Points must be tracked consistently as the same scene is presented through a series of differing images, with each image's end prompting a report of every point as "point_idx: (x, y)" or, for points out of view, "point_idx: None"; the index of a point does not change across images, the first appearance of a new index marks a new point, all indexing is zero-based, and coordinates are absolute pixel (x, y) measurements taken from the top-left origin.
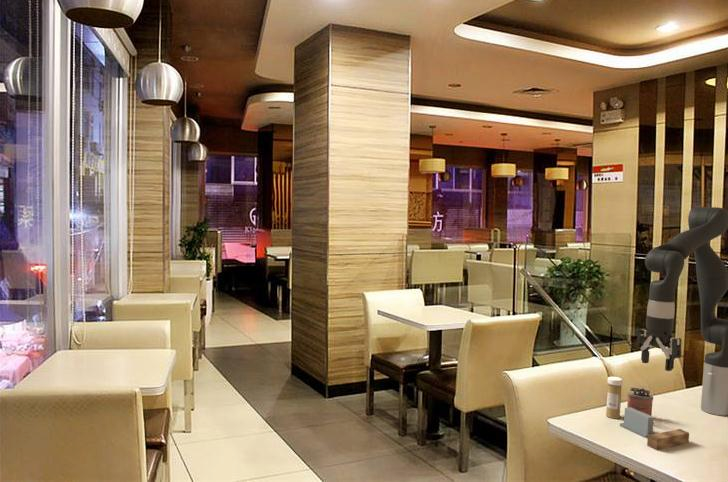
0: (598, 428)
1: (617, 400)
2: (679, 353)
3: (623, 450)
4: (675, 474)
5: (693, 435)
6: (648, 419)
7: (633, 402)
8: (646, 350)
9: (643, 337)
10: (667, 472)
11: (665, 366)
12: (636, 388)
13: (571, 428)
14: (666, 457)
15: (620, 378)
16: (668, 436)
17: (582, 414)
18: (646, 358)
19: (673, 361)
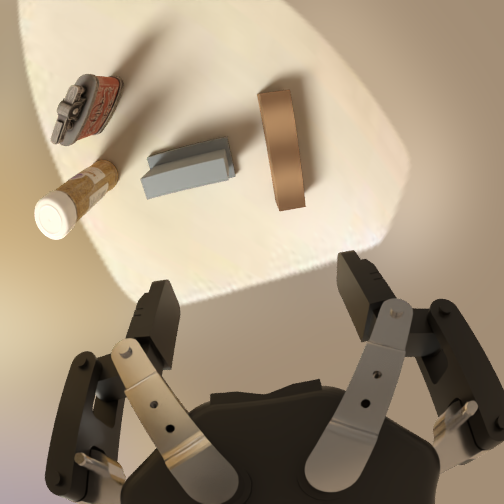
0: (173, 247)
1: (97, 192)
2: (459, 332)
3: (283, 261)
4: (382, 235)
5: (242, 40)
6: (228, 177)
7: (87, 130)
8: (156, 362)
9: (95, 441)
10: (373, 242)
11: (345, 302)
12: (61, 128)
13: None
14: (332, 201)
15: (48, 202)
16: (298, 165)
17: (98, 238)
18: (168, 314)
19: (392, 297)
